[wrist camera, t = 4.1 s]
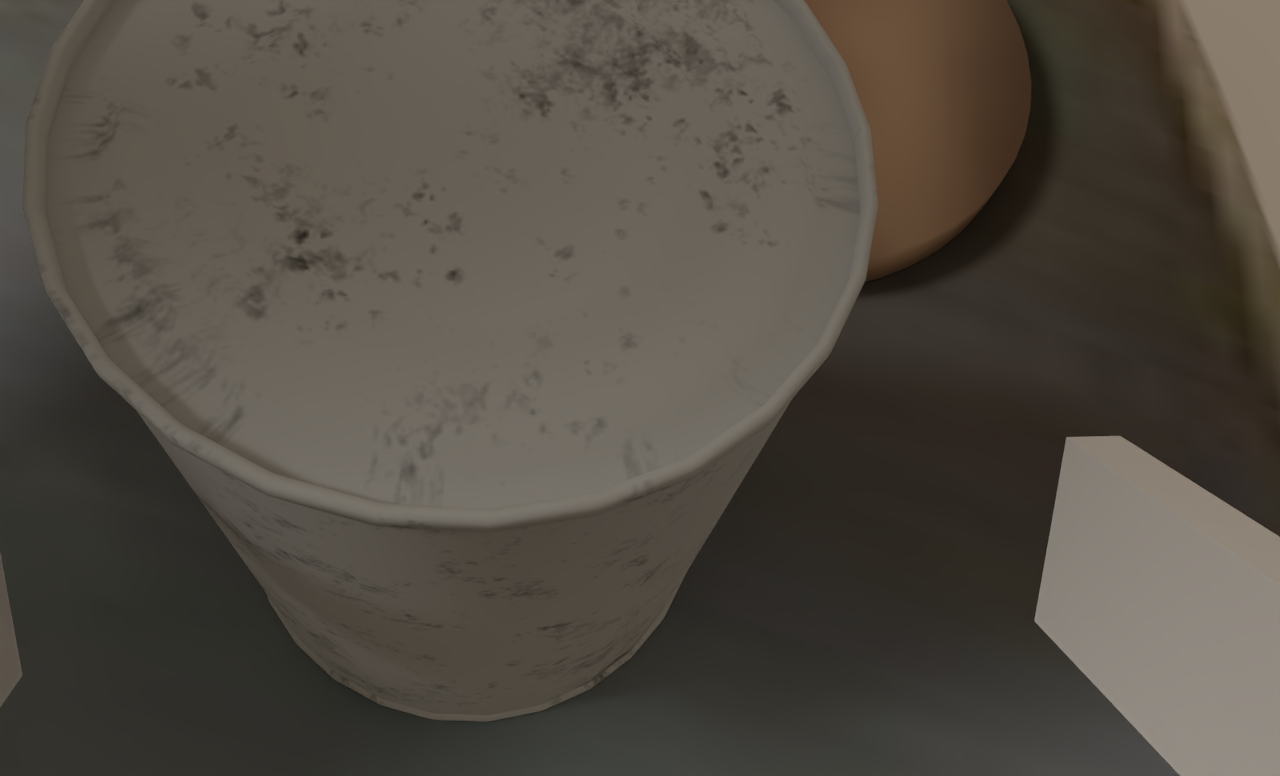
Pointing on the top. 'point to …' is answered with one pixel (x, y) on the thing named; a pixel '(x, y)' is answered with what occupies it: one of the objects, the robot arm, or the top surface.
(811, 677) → the top surface
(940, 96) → the walnut board
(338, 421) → the white speckled cylinder
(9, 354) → the top surface
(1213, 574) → the robot arm
